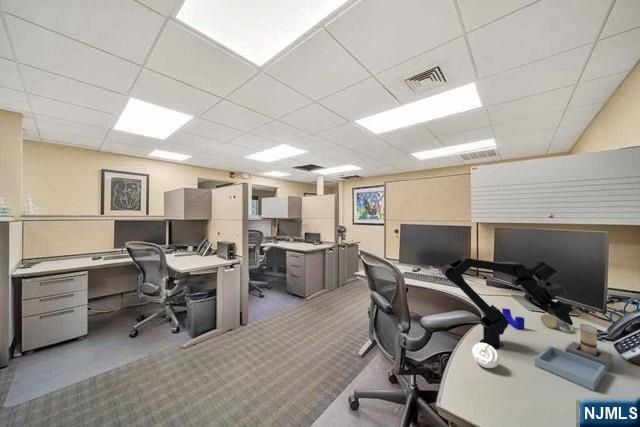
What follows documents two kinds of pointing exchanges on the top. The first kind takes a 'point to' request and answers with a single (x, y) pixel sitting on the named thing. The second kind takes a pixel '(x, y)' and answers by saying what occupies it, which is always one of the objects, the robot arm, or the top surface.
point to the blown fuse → (588, 339)
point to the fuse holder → (601, 357)
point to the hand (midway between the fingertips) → (562, 319)
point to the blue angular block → (516, 323)
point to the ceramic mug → (555, 322)
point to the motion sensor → (485, 355)
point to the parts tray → (571, 367)
